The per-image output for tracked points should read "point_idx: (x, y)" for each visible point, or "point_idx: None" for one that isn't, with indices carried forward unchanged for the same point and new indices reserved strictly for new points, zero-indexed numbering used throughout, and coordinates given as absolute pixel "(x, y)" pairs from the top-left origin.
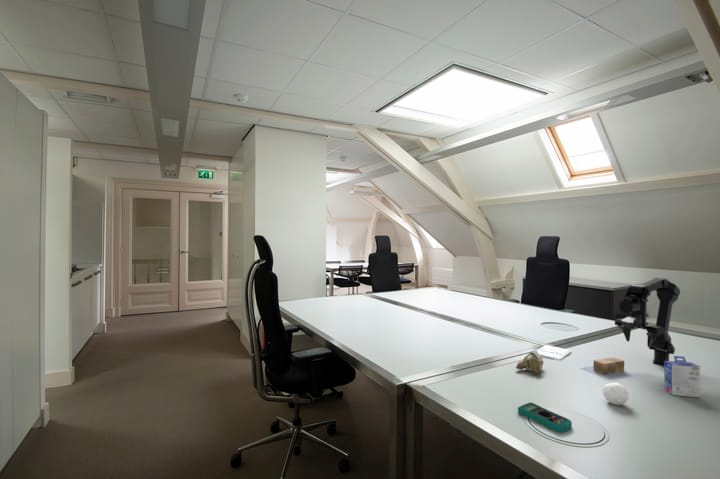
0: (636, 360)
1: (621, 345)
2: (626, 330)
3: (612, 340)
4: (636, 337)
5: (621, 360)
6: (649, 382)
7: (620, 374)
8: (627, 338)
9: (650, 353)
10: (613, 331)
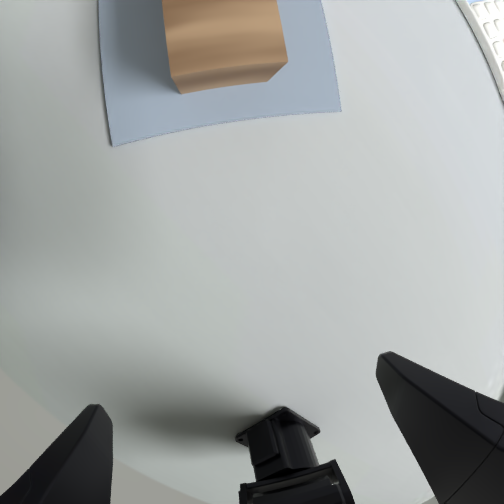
0: (346, 367)
1: None
2: (487, 469)
3: None
4: None
5: (187, 58)
6: (19, 127)
7: (139, 25)
8: (401, 380)
9: (372, 451)
10: None
